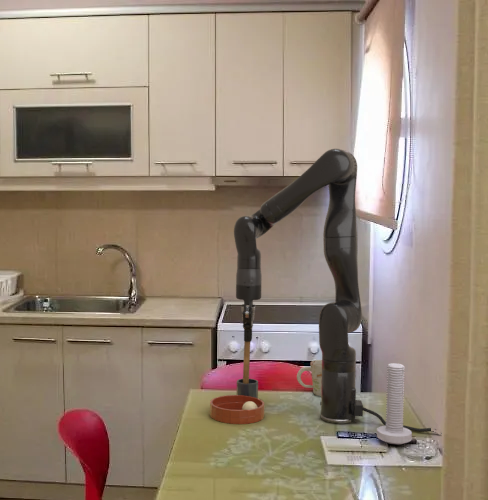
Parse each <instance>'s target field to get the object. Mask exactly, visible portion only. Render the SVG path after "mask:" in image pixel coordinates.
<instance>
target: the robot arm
mask: <svg viewBox="0 0 488 500" xmlns="http://www.w3.org/2000/svg"><path fill="white" fill-rule="evenodd" d="M357 178H358V162H357V159H356V157H355V155H354V154H353V153H351V152H350V151H348V150H344V149H340V148H331V149H328V150H326V151H325V152H324V153H323V154H321V156H320V157H318V158H317V160H316V161H315V162H314V163H313V164H311V166H309V167H308V169H307V170H305V171H304V172H303V173H302V174H301V175H300V176H298V177H297V178H296V179H295V180H293V182H291V183H290V184H288V185H287V186H285V187H284V188H282V189H281V190H280V191H278V192H277V193H275V194H274V195H273V196H271V197H270V198H269V199H267V200H265V201H264V202H263V203H262V204H261V206H260V208H259V209H258V210H256V212H254V213H253V214H251V215H243V216H240V217H239V218H238V219H237V220H236V221H235V222H234V227H233V237H234V238H233V239H234V244H235V249H236V252H237V253H236V254H237V256H236V272H235V273H236V274H235V298H236V300H240V301H241V300H242V301H243V303H242V304H241V305H240V306H241V307H240V308H241V310H240V311H241V321H242V327H243V328H242V329H243V341H245V342H250V343H251V342H252V340H253V328H254V327H253V326H254V320H255V312H256V304H254V301H260V300H261V299H262V280H263V279H262V253H261V250H260V249H259V248H258V247H257V239H259V238H260V237H262V236H264V235H265V234H266V233H267V232H269V231H270V230H271V229H272V228H273V227H274V226H275V225H276V224H278V223H279V222H281V221H282V220H284V219H285V218H287V217H288V216H290V215H291V214H292V213H294V212H295V211H296V210H297V209H299V208H300V207H301V206H302V205H303V203H304V202H305V201H307V200H308V199H309V198H310V197H311V196H312V195H313V194H315V193H316V192H318V191H319V190H321V189H323V188H325V187H327V186H328V195H329V200H328V208H327V211H326V212H327V213H326V216H325V220H324V225H323V233H322V234H323V235H322V236H323V237H322V238H323V256H324V259H325V263H326V264H327V266H328V269H329V271H330V273H331V275H332V278H333V281H334V289H335V291H334V292H335V299H334V301H333V302H328V303H325V304H324V305H323V306H322V307H321V309H320V312H319V316H318V345H319V348H320V351H321V360H322V385H321V396H320V402H319V403H320V404H319V405H320V419H321V420H322V421H324V422H327V423H330V424H340V425H343V424H351V423H352V424H353V423H356V417H363V416H364V412H366V413H367V414H371V415H373V416H374V417H376V418H377V419H379V421H380V422H381V423H382V424H383V426H387V425H386V421H387V420H386V419H384V418H383V417H382V416H381V415H380V414H379V413H378V412H376V411H374V410H371V409H369V408H366V407H364V404H363V401H362V400H360V399H357V388H356V371H357V370H356V365H357V361H356V359H357V351H356V349H355V348H354V347H352V346H350V345H349V344H350V343H349V334H350V333H354V332H355V331H357V330H358V329H359V328H360V326H361V324H362V320H363V311H362V303H361V296H360V295H361V294H360V287H359V268H358V267H359V264H358V262H359V261H358V229H357V228H358V227H357V225H358V224H357V223H358V222H357V208H356V207H357V206H356V188H357ZM402 425H403V427H404V428H407V429H409V430H410V431H411V432H417V433H427V432H428V433H429V432H431V433H432V432H433V433H435V432H434V431H431V428H432V427H425V428H420V427H419V428H418V427H413V426H409V425H406V424H405V425H404V424H402Z"/></svg>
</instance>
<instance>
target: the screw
mask: <svg viewBox="0 0 488 500" xmlns="http://www.w3.org/2000/svg"><path fill="white" fill-rule="evenodd" d="M386 369H387V372H386V376H387V377H386V378H387V379H386V402H385V403H386V404H385V408H386V409H385V410H386V411H385V413H386V414H385V415H386V416H385V421H386V425H387V426H386V425H381V426H378V427H377V428H376V438H377V439H379V440H381V441H383V442H385V443H387V444H389V445H396V446H397V445H398V446H399V445H403V444H407V443H410V442H411V441H412V439H413V436H412V435H413V431H411V430H409V429H407V428H404V427H403V425H404V407H405V405H404V404H405V403H404V400H405V398H404V397H405V393H404V392H405V370H406V368H405V365H404V364H401V363H398V362H397V363H396V362H395V363H394V362H391V363H388V364H387V367H386Z"/></svg>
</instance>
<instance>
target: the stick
mask: <svg viewBox="0 0 488 500" xmlns="http://www.w3.org/2000/svg"><path fill="white" fill-rule="evenodd" d="M243 341H244V340H243ZM250 361H251V342H245V341H244V343H243V364H242V365H243V367H242V379H243V383H245V384H249V379H250V364H251V362H250Z"/></svg>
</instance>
